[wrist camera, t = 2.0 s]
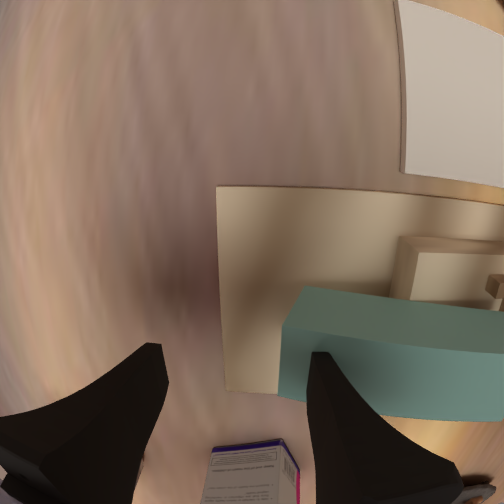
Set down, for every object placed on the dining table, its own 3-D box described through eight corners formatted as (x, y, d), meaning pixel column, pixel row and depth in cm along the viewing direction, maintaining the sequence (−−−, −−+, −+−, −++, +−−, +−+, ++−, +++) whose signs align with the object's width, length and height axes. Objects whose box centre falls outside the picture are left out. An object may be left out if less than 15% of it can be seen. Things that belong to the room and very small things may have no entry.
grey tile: (520, 49, 9) (525, 47, 9) (524, 191, 12) (530, 193, 12) (393, 1, 10) (397, -3, 10) (400, 171, 13) (404, 173, 13)
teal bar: (512, 312, 10) (538, 355, 7) (487, 373, 11) (501, 421, 8) (304, 285, 14) (281, 325, 11) (299, 349, 15) (277, 395, 12)
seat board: (526, 208, 13) (567, 226, 9) (477, 372, 17) (499, 405, 13) (217, 185, 14) (197, 200, 10) (226, 386, 18) (217, 433, 14)
